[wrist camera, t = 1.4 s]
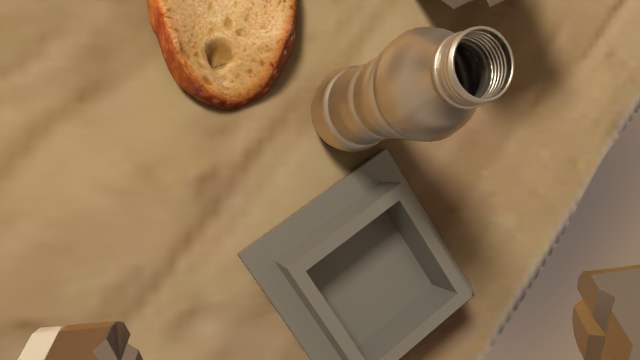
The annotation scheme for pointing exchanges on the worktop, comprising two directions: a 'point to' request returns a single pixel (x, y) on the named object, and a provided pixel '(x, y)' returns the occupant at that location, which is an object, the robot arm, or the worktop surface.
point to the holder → (359, 268)
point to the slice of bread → (224, 46)
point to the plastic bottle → (413, 88)
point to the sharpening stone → (458, 0)
